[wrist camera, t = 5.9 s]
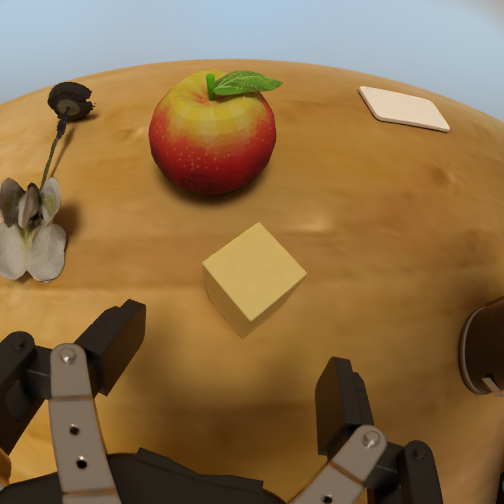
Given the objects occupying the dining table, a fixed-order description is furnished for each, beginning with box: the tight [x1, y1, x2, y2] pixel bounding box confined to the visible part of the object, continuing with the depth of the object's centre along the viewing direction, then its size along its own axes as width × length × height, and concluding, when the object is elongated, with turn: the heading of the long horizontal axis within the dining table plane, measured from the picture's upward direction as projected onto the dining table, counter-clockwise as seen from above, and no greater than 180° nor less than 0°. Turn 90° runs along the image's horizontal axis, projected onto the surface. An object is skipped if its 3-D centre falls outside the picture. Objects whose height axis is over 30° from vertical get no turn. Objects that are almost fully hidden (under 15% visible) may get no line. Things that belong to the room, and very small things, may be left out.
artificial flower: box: [0, 82, 96, 283], centre depth 22 cm, size 9×22×10 cm, turn 2°
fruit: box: [149, 69, 283, 194], centre depth 22 cm, size 11×11×10 cm
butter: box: [202, 222, 307, 338], centre depth 19 cm, size 4×4×8 cm
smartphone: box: [359, 86, 450, 132], centre depth 35 cm, size 7×1×15 cm
